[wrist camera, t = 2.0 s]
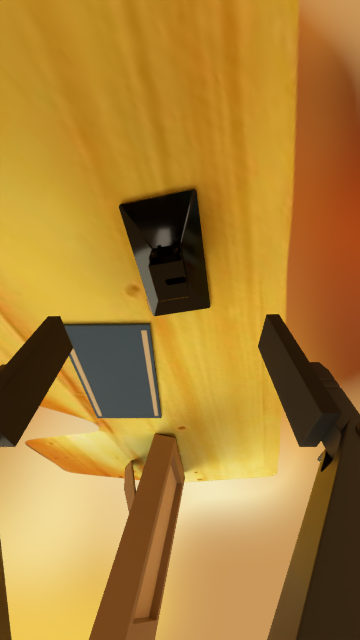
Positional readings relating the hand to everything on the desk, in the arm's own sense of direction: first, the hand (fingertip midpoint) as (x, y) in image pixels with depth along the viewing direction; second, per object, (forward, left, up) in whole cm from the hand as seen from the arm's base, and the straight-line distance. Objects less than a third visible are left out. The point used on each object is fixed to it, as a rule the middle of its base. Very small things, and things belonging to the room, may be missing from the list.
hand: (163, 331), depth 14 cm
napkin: (+19, -9, -11) cm, 23 cm away
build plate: (0, 0, -11) cm, 11 cm away
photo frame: (+48, -7, -11) cm, 49 cm away
